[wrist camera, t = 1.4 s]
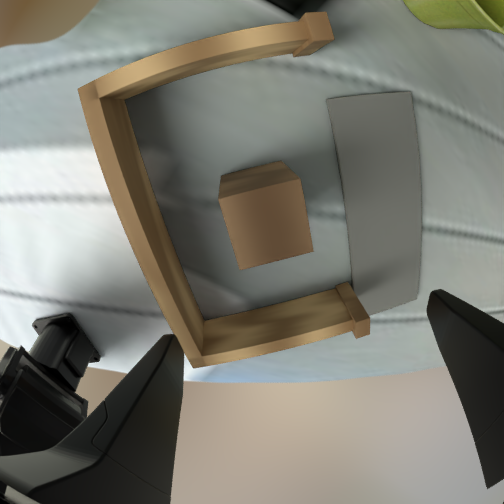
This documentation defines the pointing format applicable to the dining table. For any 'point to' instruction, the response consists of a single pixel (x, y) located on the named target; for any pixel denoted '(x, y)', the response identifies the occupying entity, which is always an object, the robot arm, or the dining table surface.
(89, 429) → the robot arm
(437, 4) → the plant pot
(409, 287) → the mat
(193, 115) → the dining table surface
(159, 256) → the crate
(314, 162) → the dining table surface
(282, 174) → the block
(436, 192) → the dining table surface
